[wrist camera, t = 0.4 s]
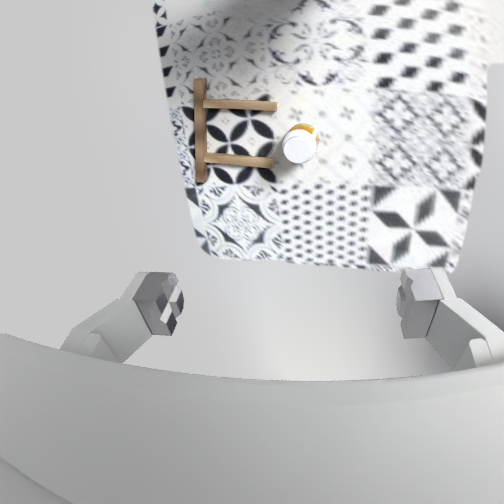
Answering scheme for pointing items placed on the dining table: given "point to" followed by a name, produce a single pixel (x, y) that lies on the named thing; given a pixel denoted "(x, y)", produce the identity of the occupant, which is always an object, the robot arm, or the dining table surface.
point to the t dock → (201, 131)
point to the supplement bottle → (300, 143)
